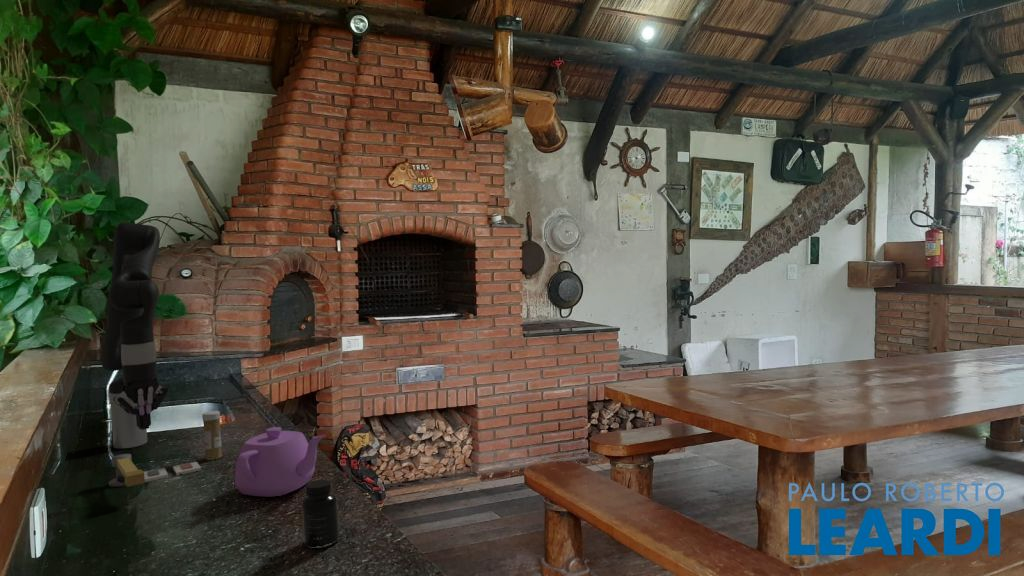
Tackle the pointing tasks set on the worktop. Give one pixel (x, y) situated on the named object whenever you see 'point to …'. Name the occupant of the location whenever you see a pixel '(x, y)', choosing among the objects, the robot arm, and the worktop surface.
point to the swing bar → (128, 469)
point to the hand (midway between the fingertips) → (144, 428)
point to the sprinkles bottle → (212, 435)
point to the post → (118, 480)
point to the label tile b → (186, 468)
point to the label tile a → (155, 474)
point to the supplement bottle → (320, 514)
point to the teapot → (275, 463)
